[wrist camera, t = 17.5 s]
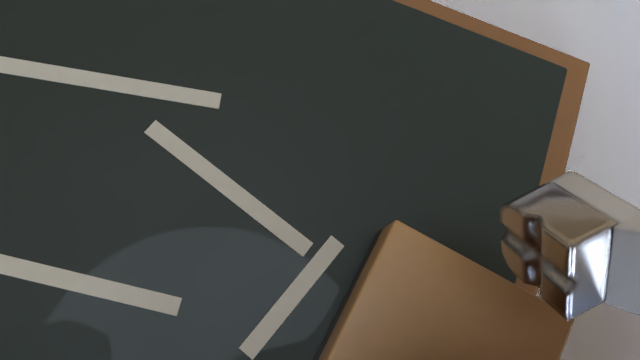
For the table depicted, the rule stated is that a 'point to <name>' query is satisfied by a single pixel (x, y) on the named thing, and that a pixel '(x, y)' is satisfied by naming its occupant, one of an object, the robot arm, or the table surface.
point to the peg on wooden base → (437, 308)
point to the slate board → (250, 163)
